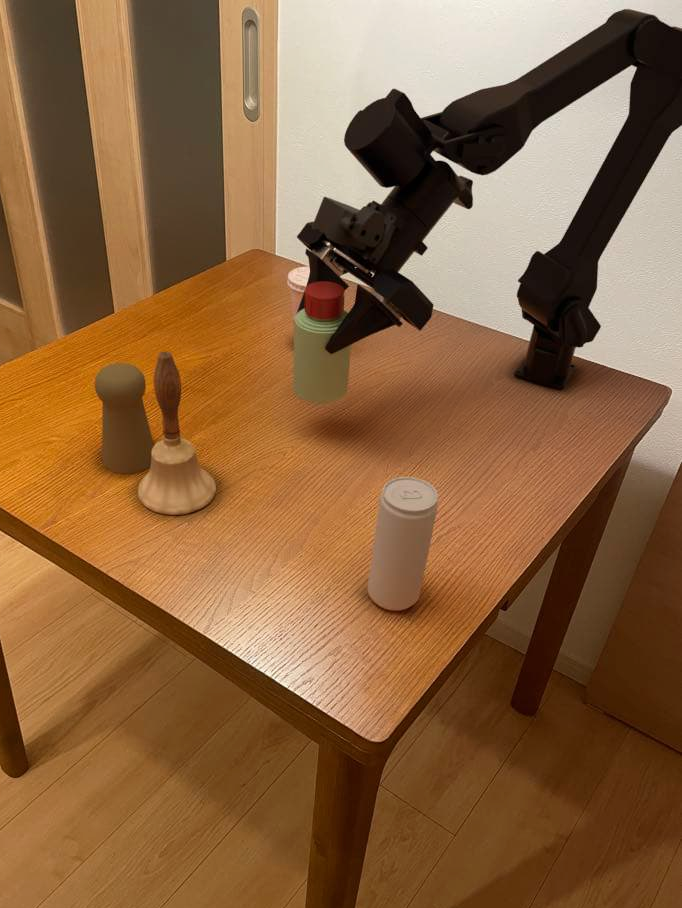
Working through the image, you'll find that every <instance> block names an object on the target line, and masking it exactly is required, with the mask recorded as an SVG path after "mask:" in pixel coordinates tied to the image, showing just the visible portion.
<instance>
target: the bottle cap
mask: <svg viewBox="0 0 682 908" xmlns="http://www.w3.org/2000/svg"><path fill="white" fill-rule="evenodd" d="M345 291H346V290H344V288H343V287H342V286H341V285H339V284H337V283H334V282H327V281H320V282H314V283H311V284H309V285H308V286H307V287H306V288H305V312H306V314H307V315H309V316H311V317H313V318H317V319H332V318H336V317H338V316H340V315H341V314H342V313H343V312H344V310H345Z"/></svg>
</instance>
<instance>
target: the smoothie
mask: <svg viewBox="0 0 682 908" xmlns="http://www.w3.org/2000/svg"><path fill="white" fill-rule="evenodd" d="M309 274H310V267H309V266H300V267H296V268H294V269H292V270H290V271H289V272H288V274H287V281H286V283H287V286H288V287H289V291H290V301H291V303H290V304H291V313H292V324H293V325H292V326H294V319H295V316H296V314H297V311H298V308H299V305H300V302H301V300H302V297H303V294H304V291H305V288H306V285H307V282H308V278H309Z"/></svg>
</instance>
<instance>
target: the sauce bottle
mask: <svg viewBox="0 0 682 908" xmlns="http://www.w3.org/2000/svg"><path fill="white" fill-rule="evenodd" d="M348 313H349V311H346V310H345V309H344V312H343V313H342V314H341V315H340V316H338V317H336V318H332V319H317V318H313V317H311V316H309V315H307V314H306V312H305V308H304V309H302V310H301V311H299V312H298V313H297V314H296V316H295V319H294V325H293V366H292V367H293V370H292V390H293V393H294V394H295V395H296V396H297V397H298V398H300V399H301V400H303V401H306V402H309V403H314V404H329V403H334V402H336V401H339V400H341V399H343V398H344V397H345V396H346V395H347V393H348V390H349V377H350V363H351V350H352V344H351V345H349V346H347V347H345V348H343V349H341V350H340V351H338V352H336V353H334V354H330V353H329V352H328V351H326V350H325V347H326V345H327V343H328V341H329V340H330V338H331V336H332V335H333V334H334V332H335V331H336V329H337V328H338V327H339V325H340V324H341V322H342V321H343V320H344V318H345V317H346V315H347V314H348Z"/></svg>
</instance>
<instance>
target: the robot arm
mask: <svg viewBox="0 0 682 908" xmlns="http://www.w3.org/2000/svg"><path fill="white" fill-rule="evenodd" d="M631 66H632V67H634V68H636V69H635V71H634V73H633V76H632V78H631V81H630V85H629V86H630V87H629V101H628V103H629V105H628V115H627V117H626V120H625V121H624V123H623V125H622V127H621V129H620V130H619V133H618V134H617V135H616V138H615V140H614V141H613V143H612V145H611V147H610V149H609V151H608V153H607V154H606V156H605V158H604V160H603V162H602V163H601V166H600V167H599V169H598V171H597V173H596V175H595V177H594V178H593V180H592V182H591V184H590V186H589V188H588V190H587V192H586V193H585V195H584V197H583V199H582V201H581V203H580V204H579V206H578V208H577V210H576V212H575V214H574V216H573V217H572V219H571V221H570V223H569V225H568V227H567V229H566V230H565V232H564V234H563V235H562V238H561V239H560V241H559V242H558V243H557V244H556V245H554V246H553V247H552V248H550V249H549V250H548V251H546V252H545V253H543V252H542V251H540V250H536V251H535V252H534V253H533V254H532V255H531V257H530V260H529V262H528V265H527V267H526V268H525V271H524V272H523V274H522V275H521V276H520V277H519V278H518V280H517V282H518V283H519V287H518V289H517V292H516V298H517V301H518V305H519V307H520V308H521V317H522V319H524V320H525V321H527V322H528V323H530V324H531V325H533V327H532V330H531V333H530V334H531V335H530V339H529V343H528V346H527V351H526V355H525V357H524V358H523V360H522V361H521V362H520V364H519V365H518V366H517V367H516V369H515V370H514V374H513V375H514V377H515V378H516V377H517V378H519V379H523V380H527V381H530V382H534V383H537V384H541V385H543V386H548V387H551V388H554V389H558V390H564V388H565V387H566V385H567V384H568V382H569V381H570V379H571V377H572V376H573V374H574V373H575V371H576V369H577V365H575V364H573V363H572V362H573V358H574V355H575V352H576V349H577V348H583V347H584V346H585V345H586V344H587V343H593V341H594V340H595V338H596V336H597V335H598V333H599V331H600V330H601V327H602V325H601V323H600V322H599V321H598V320H597V318H596V317H595V315H594V314H593V312H592V311H591V309H590V308H589V307H590V306H591V303H592V301H593V298H594V296H595V294H596V292H597V290H598V275H599V272H598V271H599V261H600V259H601V257H602V255H603V253H604V251H605V250H606V248H607V246H608V244H609V243H610V241H611V240H612V238H613V236H614V234H615V232H616V231H617V229H618V228H619V225H620V224H621V222H622V221H623V218H624V217H625V215H626V213H627V212H628V210H629V208H630V207H631V204H632V203H633V201H634V199H635V197H636V196H637V194H638V193H639V190H640V188H641V187H642V185H643V183H644V182H645V180H646V178H647V176H648V175H649V173H650V171H651V169H652V168H653V166H654V164H655V163H656V161H657V159H658V158H659V156H660V154H661V152H662V150H663V149H664V147H665V145H666V143H667V142H668V140H669V138H670V137H671V135H672V133H674V132H675V131H677V130H678V129H679V128H680V127H682V27H679V26H675V25H674V26H671V25H669V24H667V23H665V22H663V21H662V20H660V18H659V17H658V16H656V15H655V14H652V13H647V12H642V11H638V10H635V9H630V8H624V9H621V10H617V11H616V12H613V13H611V15H610V16H609V17H608V18H607V19H606V21H605V22H604V23H602V24H601V25H599V26H598V27H596V28H594V29H593V30H591V31H589V32H588V33H587V34H586V35H584V36H582V37H580V38H579V39H578V40H576V41H574V42H573V43H571V44H570V45H568V46H567V47H565V48H564V49H562V50H560V51H559V52H557V53H556V54H554V55H553V56H551V57H550V58H548V59H547V60H545V61H543V62H541V63H540V64H539V65H537V66H535V67H534V68H533V69H531V70H530V71H528V72H526V73H525V74H523V75H522V76H520V77H518V78H517V79H515V80H513V81H510V82H508V83H506V84H501V85H500V84H499V85H496V86H491V87H486V88H481V89H478V90H476V91H473V92H472V93H469V94H466V95H464V96H462V97H459V98H457V99H454V100H453V101H451V102H450V103H449V104H447V106H446V107H444V109H443V110H442V111H440V112H436V113H433V114H429V115H426V116H422V117H420V115H419V114H418V113H417V111H416V110H415V108H414V105H413V103H412V101H411V100H410V97H408V96H407V94H406V93H405V92H403V91H401V90H399V89H397V88H392V89H391V90H390V91H389V93H388V94H387V95H386V96H385V97H381V98H379V99H376V100H375V101H373V102H371V103H369V104H368V105H367V106H365V107H364V108H363V109H360V110H359V111H357V112H356V114H355V115H354V116H353V117H352V119H351V120H350V122H349V124H348V126H347V127H346V130H345V133H344V137H343V143H344V146H345V147H346V149H347V150H348V151H349V152H350V154H351V155H352V156H353V157H354V158H355V159H356V160H357V162H358V163H359V164H360V165H361V166H362V167H363V169H364V170H366V172H367V173H368V174H369V175H370V177H372V178H373V179H374V181H375V182H376V183H377V184H378V185H379V186H380V187H382V188H385V189H388V188H389V189H390V188H392V189H391V190H390V192H389V193H388V195H387V196H386V197H385V199H384V200H383V201H382V202H381V203H379V202H378V201H375V200H373V199H372V201H370V202H368V203H367V204H366V205H364V206H362V207H361V208H360V209H359V208H356V207H353V206H351V205H349V204H346V203H344V202H340V201H338V200H335V199H333V198H330V197H328V196H323V198H322V200H321V202H320V205H319V208H318V210H317V213H316V215H315V217H314V221H309V222H306V223H305V225H304V226H303V227H302V229H301V230H300V232H299V233H298V234H297V235H296V238H297V239H298V240H299V242H301V244H303V245H304V246H305V247H306V249H305V255H306V257H308V258H307V259H308V265H309V267H310V274H309V278H308V282H307V285H306V287H307V286H308V285H309V284H311V283H314V282H320V281H327V282H334V283H337V284H339V285H341V286H342V287H343V288H344V290H345V291H346V290H347V289H348V288H349V287H350V286H349V284H348V283H347V282H346V281H344V280H343V278H341V277H342V276H343V275H346V274H350V275H351V276H353V277H355V279H357V280H359V281H361V282H362V283H363V284H364V285H366V286H368V287H369V288H370V289H371V290H370V291H369V290H367V289H366V288H365V287H364V286H362V285H360V284H359V283H357V285H356V289H355V290H356V292H355V298H354V304H353V305H352V307H351V308H350V310H349V311H348V314H347V315H346V317H345V318H344V320H343V321H342V322H341V324H340V325H339V327H338V328H337V329H336V331H335V332H334V334H333V335H332V336H331V338H330V340H329V341H328V343H327V345H326V347H325V350H326V351H328V352H329V353H330V354H334V353H336V352H338V351H340V350H341V349H343V348H345V347H347V346H349V345H351V346H352V345H354V344H355V343H357V342H360V341H361V340H363V339H365V338H367V337H369V336H372V335H374V334H377V333H379V332H382V331H385V330H387V329H389V328H391V327H394V326H396V327H398V328H401V327H402V326H403V324H404V323H403V322H402V321H401V319H403V320H404V321H405V322H406V323H407V324H409V325H410V326H411V327H413V328H415V329H416V330H417V331H419V332H421V331H422V330H423V328H424V327H425V326H426V325H427V323H429V321H430V320H431V319H432V317H433V312H434V311H433V310H434V303H433V302H432V301H431V300H430V299H429V298H428V297H427V295H426V294H425V293H424V292H423V291H422V290H421V289H420V288H419V287H418V286H417V285H416V284H415V283H414V282H413V280H411V279H410V278H408V277H406V276H404V275H403V274H402V273H400V271H401V269H402V268H403V267H404V266H405V264H406V263H407V262H408V261H409V259H410V258H411V257H412V256H413V254H414V253H416V254H418V255H419V256H423V255H424V254H425V253H426V251H427V250H428V249H429V247H428V246H427V245H426V244H425V242H424V241H425V239H426V238H427V237H428V235H429V234H430V233H431V232H432V231H433V229H434V227H435V226H436V225H437V224H438V223H439V221H440V220H441V219H442V217H443V216H444V215H445V214H446V213H447V212H448V210H449V209H450V208H451V206H452V205H453V204H455V205H457V206H460V207H461V208H464V209H467V210H471V209H472V208H473V206H474V195H473V185H474V181H473V179H471V178H468V177H465V176H463V175H458V174H457V173H456V171H454V169H453V168H452V166H451V165H450V164H449V163H448V162H447V161H444V160H436V159H435V158H434V157H433V155H432V153H433V152H435V153H436V154H438V155H440V156H441V157H443V158H445V159H447V160H448V161H450V162H452V163H454V164H456V165H457V166H460V167H461V168H463V169H465V170H467V171H468V172H471V173H472V174H475V175H478V176H479V175H480V176H488V175H490V174H492V173H495V172H496V171H497V170H499V169H501V168H502V166H504V165H505V164H506V163H507V162H508V161H509V160H511V159H512V158H513V157H514V156H516V154H518V153H519V152H520V151H521V150H522V149H523V148H524V147H525V146H526V143H527V142H528V139H529V137H530V136H531V134H532V133H533V131H534V130H535V129H536V128H537V127H539V126H540V125H541V124H542V123H544V122H545V121H547V120H548V119H549V118H551V117H553V116H554V115H556V114H558V113H559V112H561V111H562V110H564V109H566V108H567V107H569V106H570V105H572V104H573V103H574V102H576V101H577V100H579V99H581V98H583V97H584V96H586V95H587V94H589V93H590V92H592V91H594V90H595V89H597V88H599V87H600V86H602V85H603V84H605V83H606V82H607V81H609V80H610V79H612V78H614V77H615V76H617V75H618V74H620V73H621V72H624V71H625V70H626V69H628V68H629V67H631ZM304 308H305V291H304V294H303V297H302V300H301V302H300V305H299V308H298V311H297V313H298V312H299V311H301V310H302V309H304Z"/></svg>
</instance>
